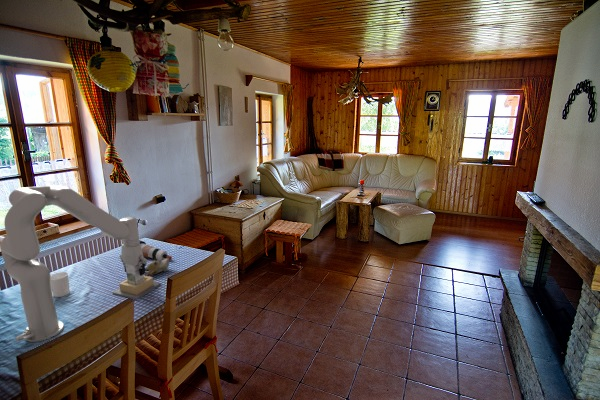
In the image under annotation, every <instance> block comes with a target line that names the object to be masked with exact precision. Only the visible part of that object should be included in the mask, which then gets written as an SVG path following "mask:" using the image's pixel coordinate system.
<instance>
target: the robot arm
mask: <svg viewBox="0 0 600 400" xmlns="http://www.w3.org/2000/svg"><path fill="white" fill-rule="evenodd" d="M8 201H9V204H10V205H11V207H10V208H9V210H8V211H7V213H6V215H5V217H4V229H5V230H4V231H5V233H6V234H5V236H4V237H3V238H2V240H1V242H0V243H1V244H0V253H1V255H2V259H3V262H4V265H5V269H6V271H7V273H8V275H9V276H10V277H11V278H12V279H13V280H14V281H16V282H17V283H18V284H19V286H20V298H21V303H22V306H23V310H24V314H25V318H26V319H25V320H26V323H27V327H25V331H24V332H23V333H22V334H19V335H18V336H15V338H14V339H15V340H14V341H16V342H17V343H18V342H20V341H21V340H23V341H24V342H25V341H28V342H30V343H37V342H38V343H39V342H43V340H44V341H46V339H47V340H49V339H52V338H54V337H55V336H57V335H59V334H60V333H61V332H62V331H63V330H64V327H65V326H64V325H65V324H64V323H63V322H62V321H60V320H59V319H58V314H57V310H56V305H55V300H54V296H53V292H52V290H51V283H50V276H51V271H50V269H49V268H48V267H47V265H45V264H44V263H43V262H42V261H39V260H37V259H36V258H37V257H38V256H39V254H40V252H41V245H40V241H39V238H38V235H37V231H36V230H37V229H36V224H35V221H36V217H37V216H38V215H39V214H40V213H41V212H42V211H43V210H44V209H45V207H47V206H56V207H58V208H60V209H61V210H64V211H65V212H66V213H68V214H70V215H71V216H72V217H74V218H76V219H78V220H79V221H81V222H83V223H84V224H87V225H89V226H93V227H95V228H96V229H99V230H100V232H101V234H103V235H104V236H106V237H108V238H111V239H113V240H114V239H115V240H117V241H120V240H121V241H122V244H121V255H119V259H120V262H121V263H122V265H123V268H124V273H126V267H125V264H131V265H138V266H139V274H140V276H142V275H143V274H144V275H145V274H146V271H145V268H146V267H147V266H148V259H146V257H145V256H143V252H142V248H141V245H140V241H141V240H140V235H139V233H140V232H139V226H138V220H137V218H136V217H135V216H134V217H133V216H126V217H123V218H120V219H118V218H116V217H115V216H113V214H110V213H108V212H107V211H105V210H103V208H100V207H99V206H97V205H96V204H94V202H93V203H92V202H91V201H90V200H89V199H87V198H85V197H84V196H83V195H81V194H79V193H78V192H76V190H73V188H70V187H67V186H62V185H59V184H58V185H44V186H43V185H42V186H40V185H39V186H26V187H19V188H16V189H14V190H12V192H10V194H9V196H8ZM139 240H140V241H139ZM139 261H140V262H139ZM140 263H141V264H142V265H140ZM53 336H54V337H53ZM51 337H52V338H51ZM48 338H49V339H48Z"/></svg>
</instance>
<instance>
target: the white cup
mask: <svg viewBox="0 0 600 400" xmlns="http://www.w3.org/2000/svg"><path fill="white" fill-rule="evenodd" d="M50 283H51V290H52V295H53V298H61V297H64V296H67V295H68V294H69V293H70V292H71V290H70V280H69V273H68V272H67V271H64V272H63V271H61V272H60V271H59V272H56V273H54V274H53V273H52V274H50Z"/></svg>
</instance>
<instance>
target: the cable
mask: <svg viewBox="0 0 600 400" xmlns="http://www.w3.org/2000/svg"><path fill="white" fill-rule="evenodd" d="M139 241H140V245H141V248H142V252H143V257H144V258H151V259H154V260H155V259H159V260H161V261H162V260H164V259H167V258H169V261H170V260H172V258H173V256H171V255H168V251H166V250H162V249H160V248H157V247H155V246H153V245H149V244H146V241H143V240H140V239H139Z"/></svg>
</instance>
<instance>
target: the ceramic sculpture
mask: <svg viewBox="0 0 600 400" xmlns="http://www.w3.org/2000/svg"><path fill="white" fill-rule="evenodd" d="M169 266H170V259H169V258H167V259H164V260H159V259H155V258H154V260H152V261H150V262H149V263H147V266H145V274H144V276H148V277H152V276H153V275H156V274H158V273H159V274H160V273H161V272H163V271H164V272H167V271H168V268H169Z"/></svg>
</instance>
